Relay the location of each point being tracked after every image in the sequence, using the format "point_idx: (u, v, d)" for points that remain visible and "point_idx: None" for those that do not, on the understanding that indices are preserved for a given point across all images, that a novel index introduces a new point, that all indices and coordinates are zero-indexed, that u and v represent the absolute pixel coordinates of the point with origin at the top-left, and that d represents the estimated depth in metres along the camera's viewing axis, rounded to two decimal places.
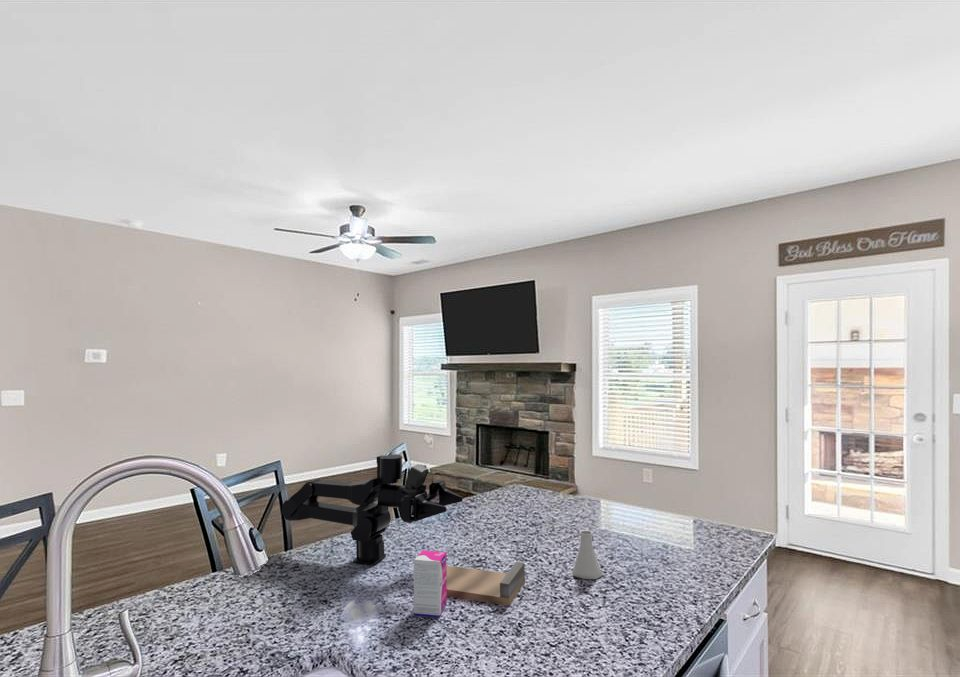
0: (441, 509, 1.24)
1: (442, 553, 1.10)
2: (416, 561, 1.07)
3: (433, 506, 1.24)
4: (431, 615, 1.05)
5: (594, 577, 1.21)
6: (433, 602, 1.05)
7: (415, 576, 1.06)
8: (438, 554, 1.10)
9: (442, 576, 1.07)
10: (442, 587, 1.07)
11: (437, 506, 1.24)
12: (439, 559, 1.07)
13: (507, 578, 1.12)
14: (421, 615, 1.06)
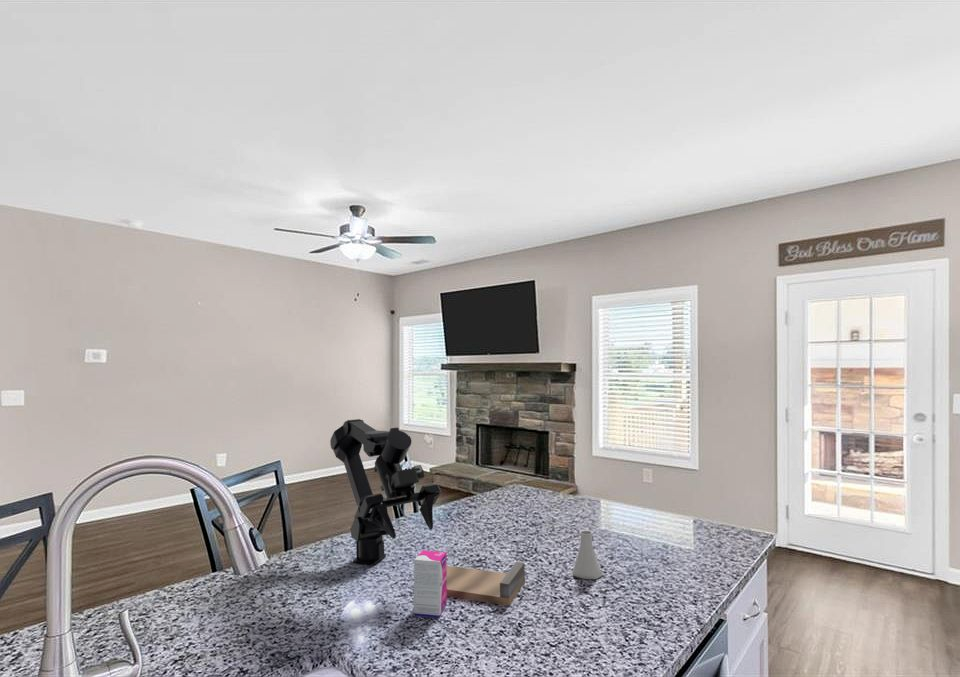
0: (391, 534, 1.14)
1: (442, 553, 1.10)
2: (416, 561, 1.07)
3: (387, 525, 1.14)
4: (431, 615, 1.05)
5: (594, 577, 1.21)
6: (433, 602, 1.05)
7: (415, 576, 1.06)
8: (438, 554, 1.10)
9: (442, 576, 1.07)
10: (442, 587, 1.07)
11: (390, 528, 1.14)
12: (439, 559, 1.07)
13: (507, 578, 1.12)
14: (421, 615, 1.06)
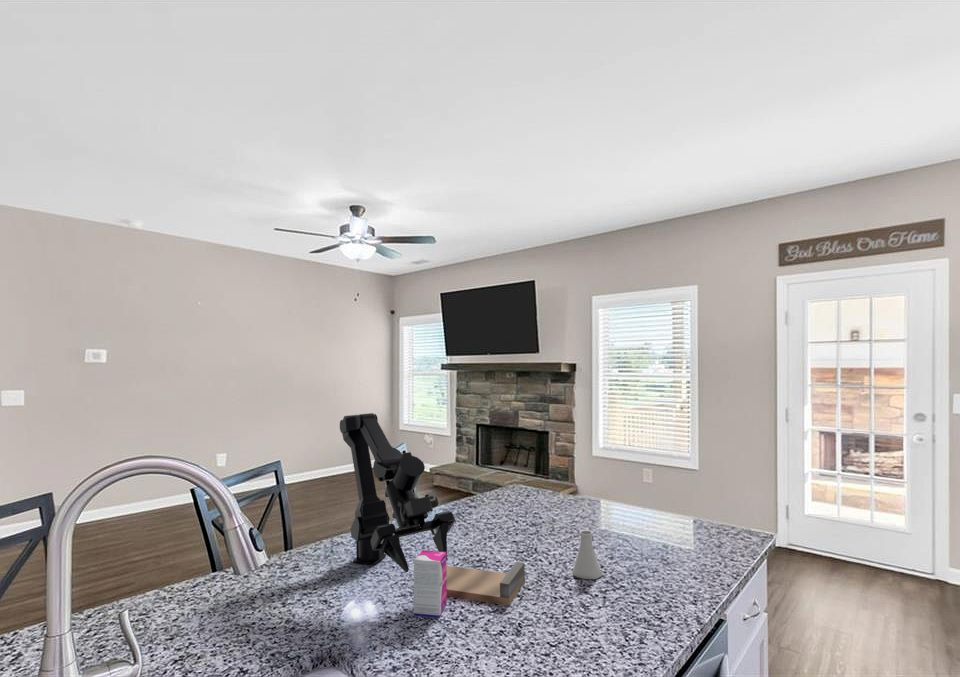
0: (403, 567, 1.08)
1: (442, 553, 1.10)
2: (416, 561, 1.07)
3: (399, 558, 1.08)
4: (431, 615, 1.05)
5: (594, 577, 1.21)
6: (433, 602, 1.05)
7: (415, 576, 1.06)
8: (438, 554, 1.10)
9: (442, 576, 1.07)
10: (442, 587, 1.07)
11: (402, 561, 1.08)
12: (439, 559, 1.07)
13: (507, 578, 1.12)
14: (421, 615, 1.06)
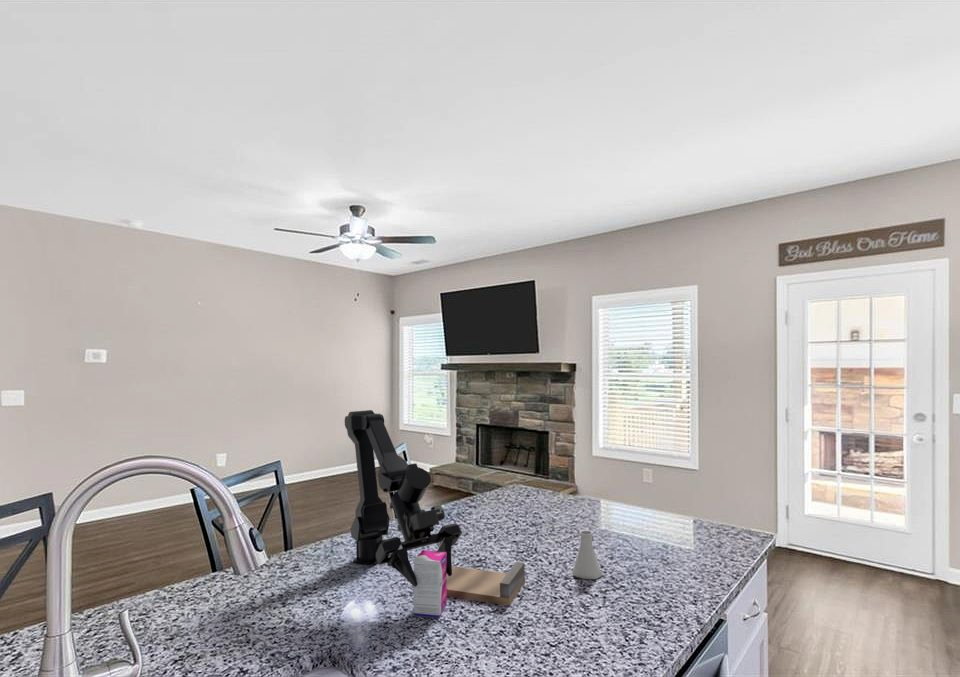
0: (412, 581, 1.06)
1: (442, 553, 1.10)
2: (416, 561, 1.07)
3: (407, 572, 1.06)
4: (431, 615, 1.05)
5: (594, 577, 1.21)
6: (433, 602, 1.05)
7: (415, 576, 1.06)
8: (438, 553, 1.10)
9: (442, 576, 1.07)
10: (442, 587, 1.07)
11: (411, 575, 1.06)
12: (439, 559, 1.07)
13: (507, 578, 1.12)
14: (421, 615, 1.06)
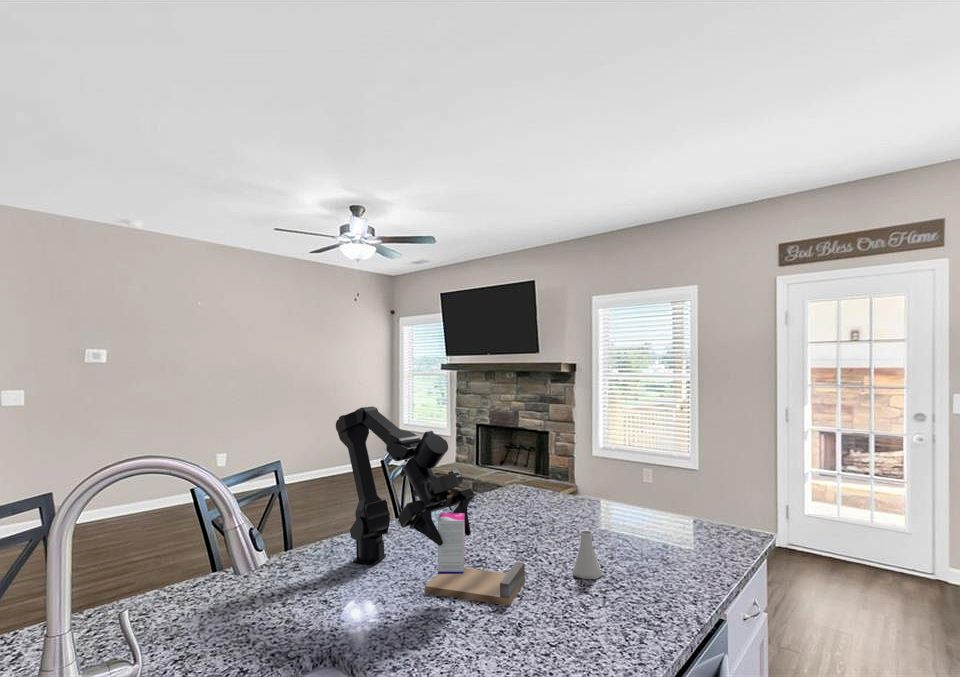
0: (437, 541, 1.10)
1: (461, 514, 1.16)
2: (440, 521, 1.11)
3: (432, 532, 1.10)
4: (455, 572, 1.11)
5: (594, 577, 1.21)
6: (457, 559, 1.11)
7: None
8: (458, 514, 1.15)
9: (464, 535, 1.13)
10: (464, 545, 1.13)
11: (436, 535, 1.10)
12: (462, 519, 1.12)
13: (507, 578, 1.12)
14: (445, 573, 1.11)
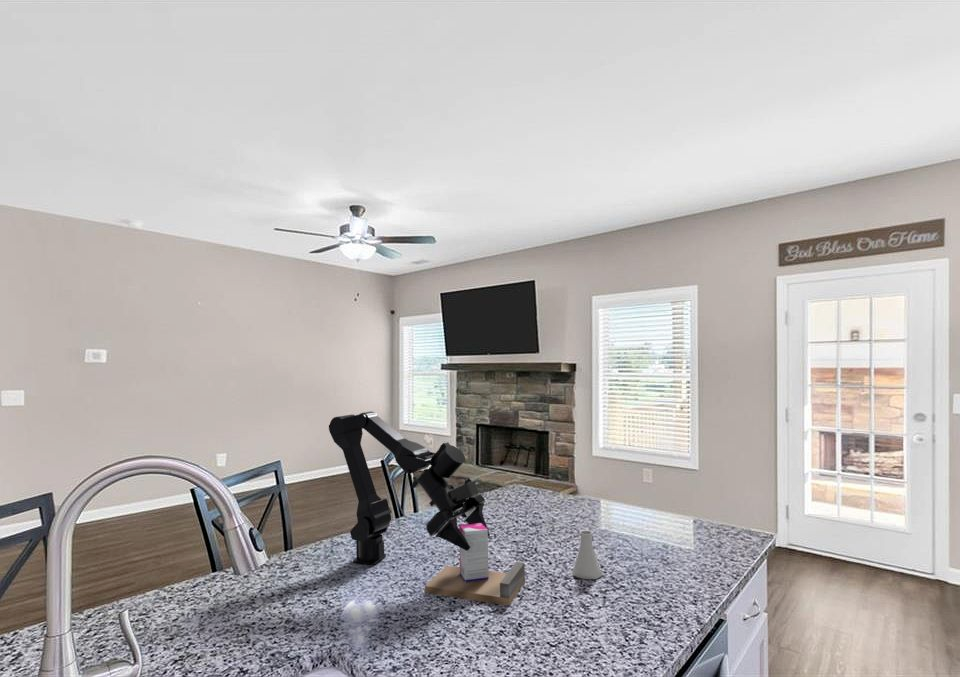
0: (464, 546, 1.17)
1: (480, 524, 1.24)
2: (467, 532, 1.18)
3: (460, 538, 1.17)
4: (481, 578, 1.19)
5: (594, 577, 1.21)
6: (483, 566, 1.19)
7: None
8: (477, 524, 1.23)
9: None
10: None
11: (463, 541, 1.17)
12: (485, 528, 1.21)
13: (507, 578, 1.12)
14: (472, 580, 1.18)
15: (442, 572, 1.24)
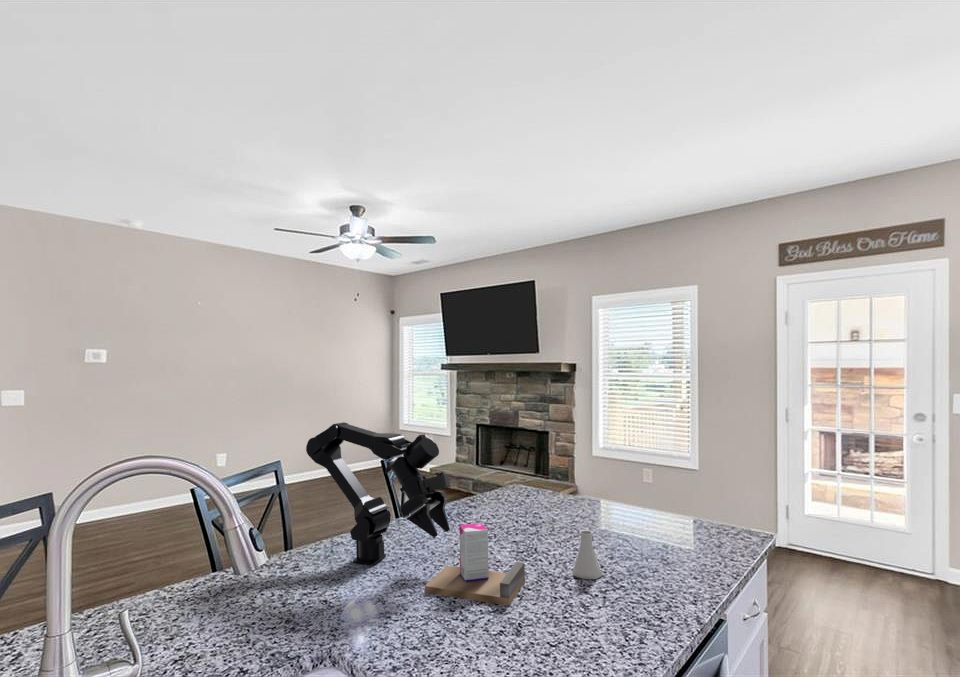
0: (432, 532, 1.22)
1: (480, 524, 1.24)
2: (467, 532, 1.18)
3: (430, 524, 1.22)
4: (481, 578, 1.19)
5: (594, 577, 1.21)
6: (483, 566, 1.19)
7: (466, 546, 1.18)
8: (477, 525, 1.23)
9: None
10: None
11: (432, 527, 1.22)
12: (485, 528, 1.21)
13: (507, 578, 1.12)
14: (472, 580, 1.18)
15: (442, 572, 1.24)
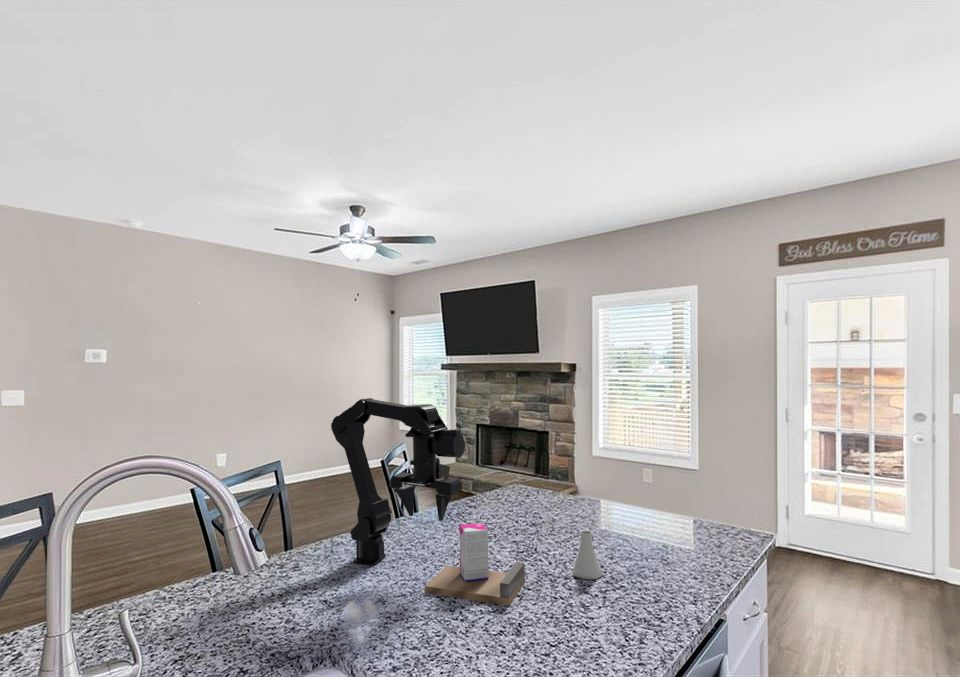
0: (442, 516, 1.27)
1: (480, 524, 1.24)
2: (467, 532, 1.18)
3: (445, 508, 1.27)
4: (481, 578, 1.19)
5: (594, 577, 1.21)
6: (483, 566, 1.19)
7: (466, 546, 1.18)
8: (477, 525, 1.23)
9: None
10: None
11: (444, 512, 1.27)
12: (485, 528, 1.21)
13: (507, 578, 1.12)
14: (472, 580, 1.18)
15: (442, 572, 1.24)
